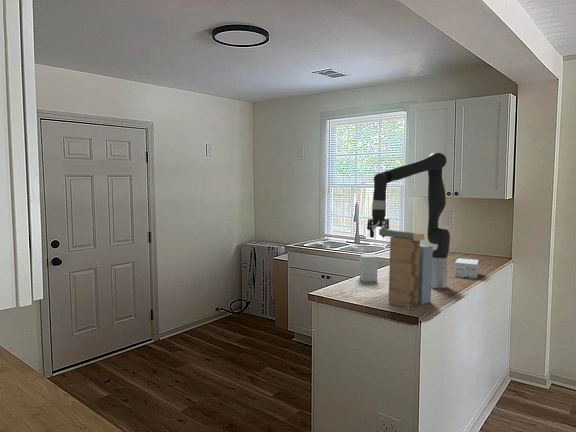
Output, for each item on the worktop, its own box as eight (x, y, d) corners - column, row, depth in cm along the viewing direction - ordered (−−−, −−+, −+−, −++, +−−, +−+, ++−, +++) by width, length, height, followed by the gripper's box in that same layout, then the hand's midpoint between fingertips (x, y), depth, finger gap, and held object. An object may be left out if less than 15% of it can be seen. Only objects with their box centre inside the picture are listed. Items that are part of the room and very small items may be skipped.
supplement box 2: (457, 271, 288) (457, 258, 287) (478, 274, 281) (479, 259, 281) (453, 276, 273) (454, 262, 272) (476, 279, 266) (477, 264, 266)
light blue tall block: (410, 296, 223) (412, 242, 221) (430, 302, 213) (432, 245, 211) (401, 298, 219) (403, 243, 216) (421, 304, 209) (423, 247, 207)
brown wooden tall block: (397, 299, 217) (399, 236, 214) (417, 305, 207) (420, 239, 205) (388, 302, 213) (390, 237, 210) (408, 307, 203) (410, 240, 201)
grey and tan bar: (385, 234, 221) (385, 228, 221) (424, 239, 202) (424, 233, 202) (377, 235, 218) (377, 229, 218) (416, 240, 199) (416, 234, 199)
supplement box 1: (374, 278, 265) (374, 254, 264) (377, 281, 256) (378, 256, 255) (359, 278, 264) (359, 254, 263) (362, 281, 255) (362, 256, 254)
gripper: (383, 208, 249) (382, 236, 250) (364, 208, 242) (363, 236, 243) (393, 208, 243) (391, 237, 244) (374, 208, 236) (372, 238, 237)
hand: (377, 237), depth 243 cm, fingers open, 8 cm apart
